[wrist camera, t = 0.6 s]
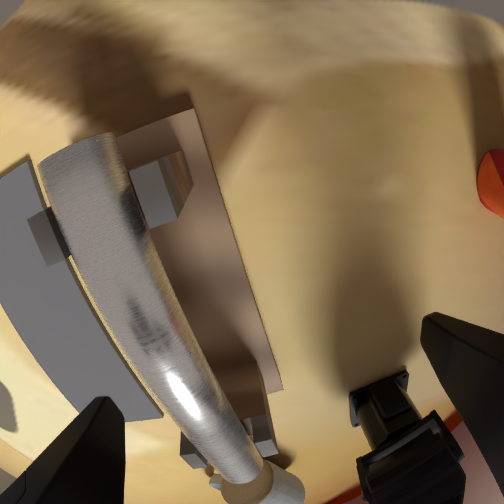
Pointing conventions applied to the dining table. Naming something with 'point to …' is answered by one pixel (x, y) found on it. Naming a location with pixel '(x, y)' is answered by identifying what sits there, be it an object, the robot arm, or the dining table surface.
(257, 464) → the steel rod
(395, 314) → the dining table surface
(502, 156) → the paper cup
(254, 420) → the hook stand
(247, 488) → the ceramic mug
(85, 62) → the dining table surface
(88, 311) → the grey flat tapered piece
